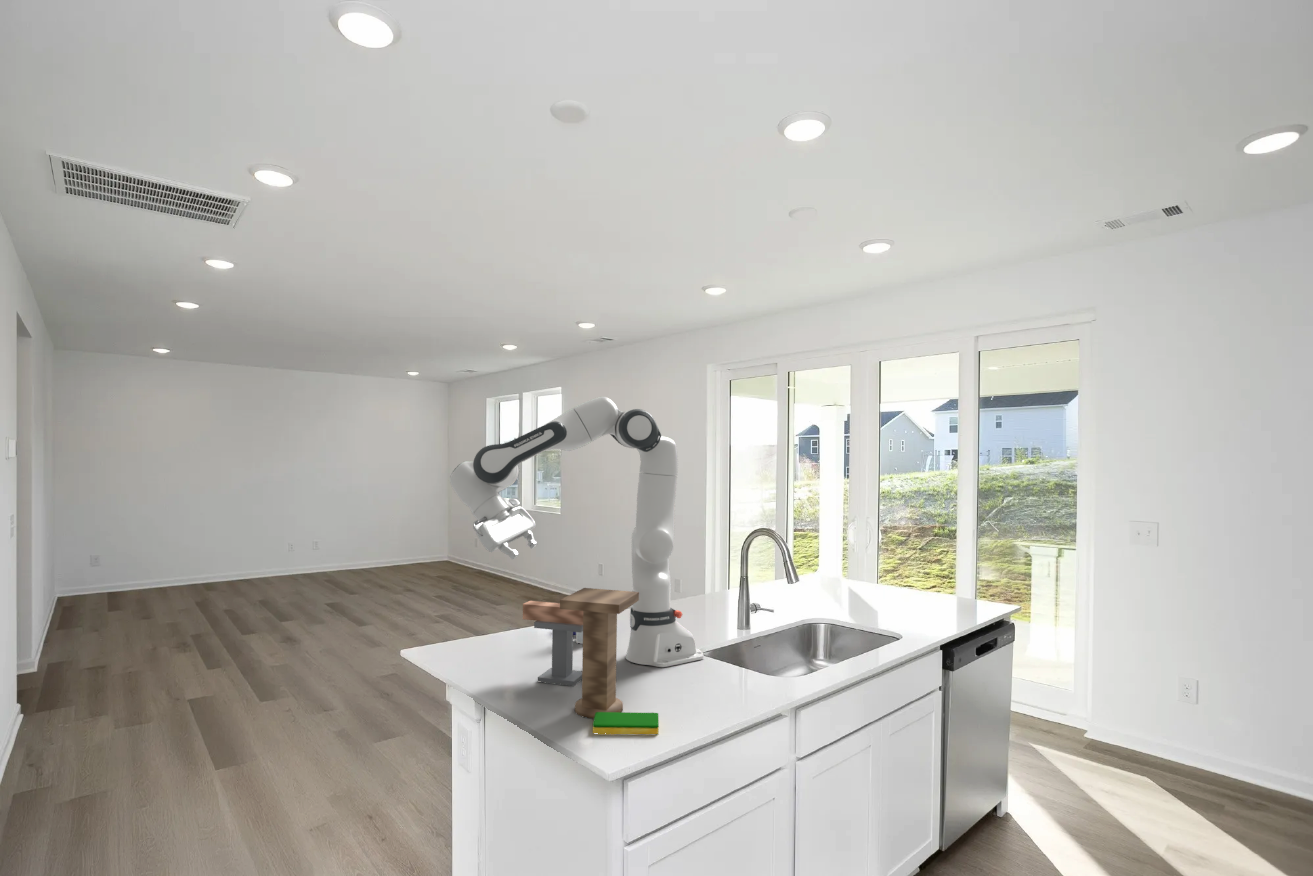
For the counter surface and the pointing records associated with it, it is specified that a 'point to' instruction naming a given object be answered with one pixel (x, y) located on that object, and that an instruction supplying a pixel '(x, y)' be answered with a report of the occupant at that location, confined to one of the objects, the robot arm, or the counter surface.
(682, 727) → the counter surface
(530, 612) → the block
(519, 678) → the counter surface
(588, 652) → the walnut pedestal
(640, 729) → the dish sponge
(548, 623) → the low stand
